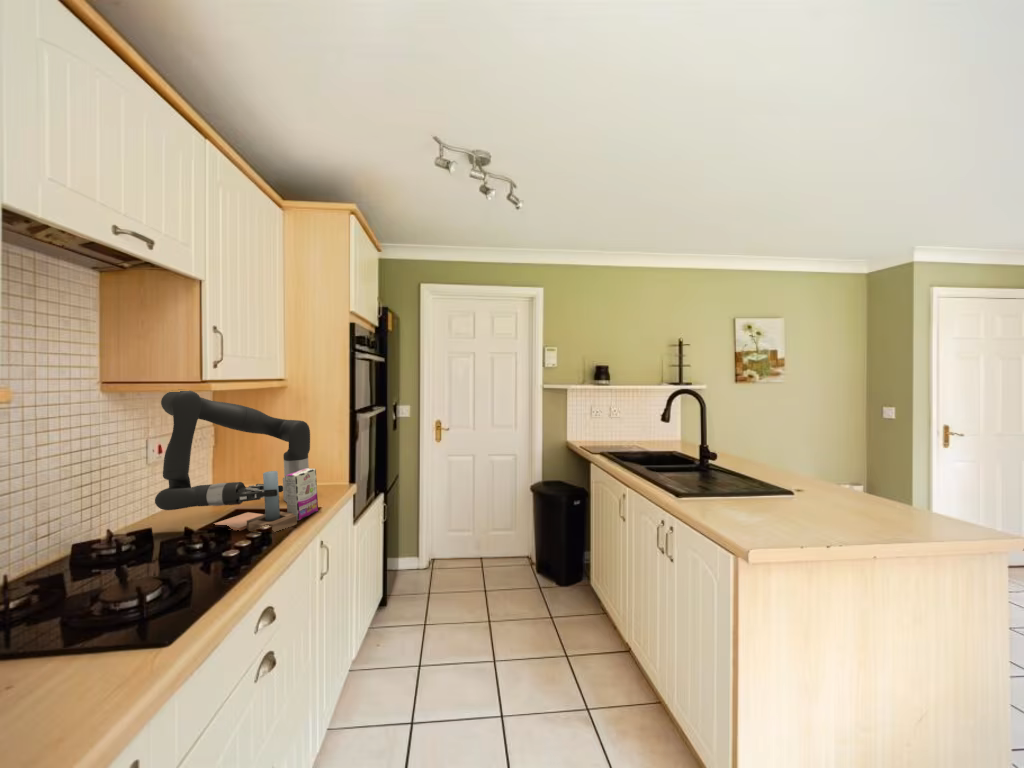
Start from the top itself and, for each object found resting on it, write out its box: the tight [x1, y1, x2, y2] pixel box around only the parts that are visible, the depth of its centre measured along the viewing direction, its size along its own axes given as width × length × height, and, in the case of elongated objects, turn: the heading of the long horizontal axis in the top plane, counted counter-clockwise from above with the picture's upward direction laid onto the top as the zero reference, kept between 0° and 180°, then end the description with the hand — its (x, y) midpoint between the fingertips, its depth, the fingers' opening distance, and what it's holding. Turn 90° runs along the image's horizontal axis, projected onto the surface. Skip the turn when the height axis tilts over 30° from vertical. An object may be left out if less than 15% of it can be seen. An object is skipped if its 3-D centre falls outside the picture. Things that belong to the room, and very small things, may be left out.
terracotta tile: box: [213, 511, 265, 532], centre depth 158 cm, size 13×13×1 cm
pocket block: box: [246, 511, 298, 533], centre depth 152 cm, size 12×12×3 cm
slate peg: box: [262, 470, 281, 521], centre depth 152 cm, size 4×4×16 cm
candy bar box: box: [285, 467, 319, 521], centre depth 164 cm, size 11×5×16 cm, turn 168°
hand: (279, 490), depth 153 cm, fingers closed on slate peg, 4 cm apart
